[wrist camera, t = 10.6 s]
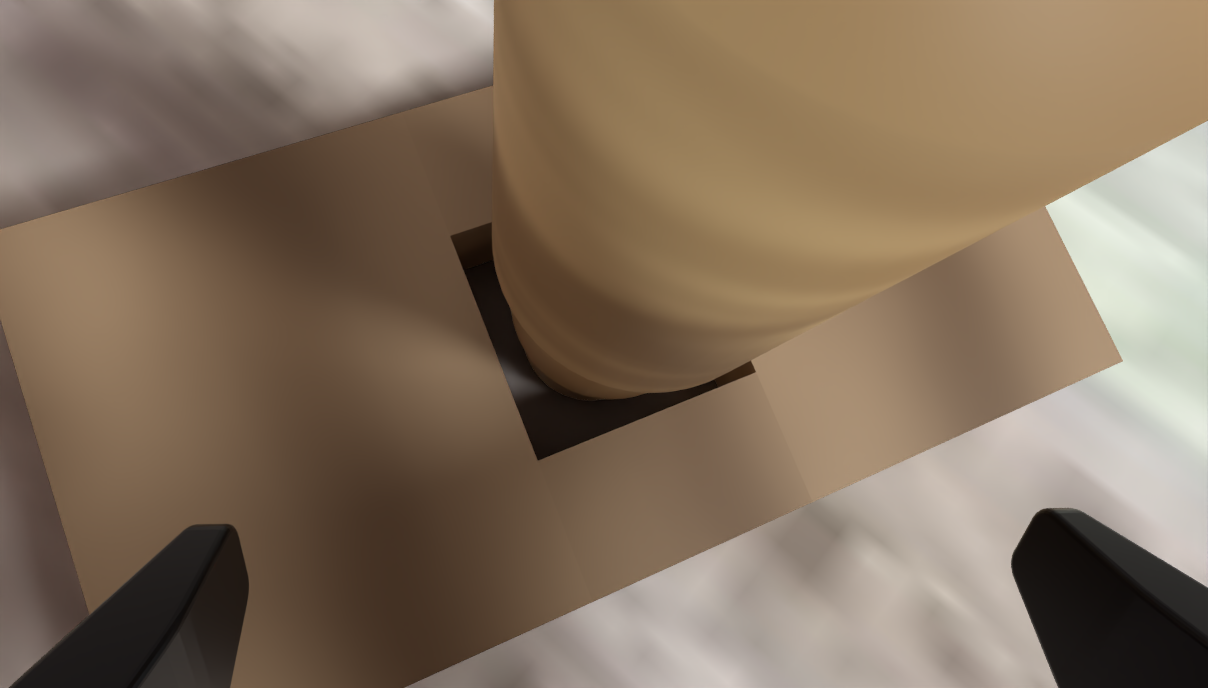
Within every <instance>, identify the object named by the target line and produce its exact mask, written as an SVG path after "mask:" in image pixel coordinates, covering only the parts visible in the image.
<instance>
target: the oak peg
mask: <svg viewBox="0 0 1208 688" xmlns="http://www.w3.org/2000/svg"><path fill="white" fill-rule="evenodd" d="M1206 121H1208V0H494V60H493V164H492V250H493V257H494V263H495V269H496V273H497V276H498V280H499V283H500V286H501V289H502V292H503V294H504V296H505V298H506V300H507V302H508V304H509V307H510V309H511V313H512V319H513V324H514V327H515V330H516V333H517V336H518V338H519V340H520V342H521V344H522V347H523V348H524V350H525V353H526V356H527V359H528V361H529V363H530V365H531V367H532V368H533V370H534V371H535V373H536V374H537V375H538V376H539V378H540V379H541V380H542V381H543V382H544V383H545V384H546V385H548V386H549V387H550V388H552V389H553V390H555V391H556V392H558V393H560V394H562V395H565V396H567V397H570V398H574V399H578V400H587V401H593V400H602V399H625V398H630V397H636V396H639V395H642V394H645V393H658V392H672V391H677V390H683V389H689V388H692V387H695V386H698V385H701V384H704V383H707V382H709V381H711V380H714V379H716V378H718V377H720V376H722V375H724V374H726V373H728V372H730V371H732V370H733V369H735V368H737V367H739V366H741V365H743V364H745V363H747V362H749V361H751V360H753V359H754V358H756V357H758V356H760V355H762V354H764V353H766V352H768V351H770V350H772V349H773V348H775V347H777V346H779V345H781V344H783V343H785V342H787V341H789V340H791V339H793V338H794V337H796V336H798V335H800V334H802V333H804V332H806V331H808V330H810V329H812V328H813V327H815V326H817V325H819V324H821V323H823V322H825V321H827V320H829V319H831V318H833V317H834V316H836V315H838V314H840V313H842V312H844V311H846V310H848V309H850V308H852V307H854V306H855V305H857V304H859V303H861V302H863V301H865V300H867V299H869V298H871V297H873V296H874V295H876V294H878V293H880V292H882V291H884V290H886V289H888V288H890V287H892V286H894V285H895V284H897V283H899V282H901V281H903V280H905V279H907V278H909V277H911V276H913V275H914V274H916V273H918V272H920V271H922V270H924V269H926V268H928V267H930V266H932V265H934V264H935V263H937V262H939V261H941V260H943V259H945V258H947V257H949V256H951V255H953V254H954V253H956V252H958V251H960V250H962V249H964V248H966V247H968V246H970V245H972V244H974V243H975V242H977V241H979V240H981V239H983V238H985V237H987V236H989V235H991V234H993V233H994V232H996V231H998V230H1000V229H1002V228H1004V227H1006V226H1008V225H1010V224H1012V223H1014V222H1015V221H1017V220H1019V219H1021V218H1023V217H1025V216H1027V215H1029V214H1031V213H1033V212H1035V211H1036V210H1038V209H1040V208H1042V207H1044V206H1046V205H1048V204H1050V203H1052V202H1054V201H1055V200H1057V199H1059V198H1061V197H1063V196H1065V195H1067V194H1069V193H1071V192H1073V191H1075V190H1076V189H1078V188H1080V187H1082V186H1084V185H1086V184H1088V183H1090V182H1092V181H1094V180H1095V179H1097V178H1099V177H1101V176H1103V175H1105V174H1107V173H1109V172H1111V171H1113V170H1115V169H1116V168H1118V167H1120V166H1122V165H1124V164H1126V163H1128V162H1130V161H1132V160H1134V159H1135V158H1137V157H1139V156H1141V155H1143V154H1145V153H1147V152H1149V151H1151V150H1153V149H1155V148H1156V147H1158V146H1160V145H1162V144H1164V143H1166V142H1168V141H1170V140H1172V139H1174V138H1176V137H1177V136H1179V135H1181V134H1183V133H1185V132H1187V131H1189V130H1191V129H1193V128H1195V127H1196V126H1198V125H1200V124H1202V123H1204V122H1206Z"/></svg>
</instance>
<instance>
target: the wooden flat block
mask: <svg viewBox="0 0 1208 688" xmlns="http://www.w3.org/2000/svg"><path fill="white" fill-rule="evenodd" d="M492 164H493V85H492V86H489V87H486V88H482V89H479V90H475V91H472V92H469V93H465V94H462V95H458V96H455V97H451V98H448V99H445V100H441V101H438V102H434V103H431V104H427V105H424V106H421V107H417V108H414V109H410V110H407V111H403V112H400V113H397V114H393V115H390V116H386V117H383V118H380V119H376V120H373V121H369V122H366V123H362V124H359V125H356V126H352V127H349V128H345V129H342V130H338V131H335V132H332V133H328V134H325V135H321V136H318V137H314V138H311V139H308V140H304V141H301V142H297V143H294V144H291V145H287V146H284V147H280V148H277V149H273V150H270V151H267V152H263V153H260V154H256V155H253V156H249V157H246V158H243V159H239V160H236V161H232V162H229V163H225V164H222V165H219V166H215V167H212V168H208V169H205V170H202V171H198V172H195V173H191V174H188V175H184V176H181V177H178V178H174V179H171V180H167V181H164V182H160V183H157V184H154V185H150V186H147V187H143V188H140V189H136V190H133V191H130V192H126V193H123V194H119V195H116V196H113V197H109V198H106V199H102V200H99V201H95V202H92V203H89V204H85V205H82V206H78V207H75V208H71V209H68V210H65V211H61V212H58V213H54V214H51V215H47V216H44V217H41V218H37V219H34V220H30V221H27V222H24V223H20V224H17V225H13V226H10V227H6V228H3V229H0V320H1V323H2V327H3V330H4V333H5V337H6V340H7V343H8V347H9V350H10V353H11V357H12V360H13V363H14V367H15V370H16V373H17V376H18V380H19V383H20V386H21V390H22V393H23V396H24V400H25V403H26V406H27V410H28V413H29V416H30V420H31V423H32V426H33V430H34V433H35V436H36V440H37V443H38V446H39V449H40V453H41V456H42V459H43V463H44V466H45V469H46V473H47V476H48V479H49V483H50V486H51V489H52V493H53V496H54V499H55V503H56V506H57V509H58V512H59V516H60V519H61V522H62V526H63V529H64V532H65V536H66V539H67V542H68V546H69V549H70V552H71V556H72V559H73V562H74V566H75V569H76V572H77V575H78V579H79V582H80V585H81V589H82V592H83V595H84V599H85V602H86V605H87V609H88V612H89V615H90V614H91V613H92V612H93V611H94V610H95V609H96V608H98V607H99V606H100V605H101V604H102V603H103V602H104V601H105V600H106V599H107V598H109V597H110V596H111V595H112V594H113V593H114V592H115V591H116V590H117V589H119V588H120V587H121V586H122V585H123V584H124V583H125V582H126V581H127V580H129V579H130V578H131V577H132V576H133V575H134V574H135V573H136V572H137V571H139V570H140V569H141V568H142V567H143V566H144V565H145V564H146V563H147V562H149V561H150V560H151V559H152V558H153V557H154V556H155V555H156V554H157V553H159V552H160V551H161V550H162V549H163V548H164V547H165V546H166V545H167V544H169V543H170V542H171V541H172V540H173V539H174V538H175V537H176V536H177V535H178V534H180V533H181V532H182V531H183V530H184V529H186V528H188V527H189V526H191V525H195V524H230V525H233V526H234V527H235V528H236V530H237V532H238V535H239V539H240V543H241V548H242V552H243V556H244V560H245V564H246V568H247V573H248V578H249V595H248V602H247V607H246V612H245V617H244V621H243V626H242V631H241V636H240V641H239V646H238V651H237V656H236V661H235V666H234V671H233V676H232V681H231V686H230V688H404V687H406V686H409V685H411V684H413V683H415V682H417V681H420V680H422V679H424V678H426V677H428V676H431V675H433V674H435V673H437V672H439V671H442V670H444V669H446V668H448V667H450V666H453V665H455V664H457V663H459V662H461V661H464V660H466V659H468V658H470V657H472V656H475V655H477V654H479V653H481V652H483V651H486V650H488V649H490V648H492V647H494V646H497V645H499V644H501V643H503V642H505V641H508V640H510V639H512V638H514V637H516V636H519V635H521V634H523V633H525V632H527V631H530V630H532V629H534V628H536V627H538V626H541V625H543V624H545V623H547V622H549V621H552V620H554V619H556V618H558V617H560V616H563V615H565V614H567V613H569V612H571V611H574V610H576V609H578V608H580V607H582V606H585V605H587V604H589V603H591V602H593V601H596V600H598V599H600V598H602V597H604V596H607V595H609V594H611V593H613V592H616V591H618V590H620V589H622V588H624V587H627V586H629V585H631V584H633V583H635V582H638V581H640V580H642V579H644V578H646V577H649V576H651V575H653V574H655V573H657V572H660V571H662V570H664V569H666V568H668V567H671V566H673V565H675V564H677V563H679V562H682V561H684V560H686V559H688V558H690V557H693V556H695V555H697V554H699V553H701V552H704V551H706V550H708V549H710V548H712V547H715V546H717V545H719V544H721V543H723V542H726V541H728V540H730V539H732V538H734V537H737V536H739V535H741V534H743V533H745V532H748V531H750V530H752V529H754V528H756V527H759V526H761V525H763V524H765V523H767V522H770V521H772V520H774V519H776V518H778V517H781V516H783V515H785V514H787V513H789V512H792V511H794V510H796V509H798V508H800V507H803V506H805V505H807V504H809V503H811V502H814V501H816V500H818V499H820V498H822V497H825V496H827V495H829V494H831V493H833V492H836V491H838V490H840V489H842V488H844V487H847V486H849V485H851V484H853V483H855V482H858V481H860V480H862V479H864V478H866V477H869V476H871V475H873V474H875V473H878V472H880V471H882V470H884V469H886V468H889V467H891V466H893V465H895V464H897V463H900V462H902V461H904V460H906V459H908V458H911V457H913V456H915V455H917V454H919V453H922V452H924V451H926V450H928V449H930V448H933V447H935V446H937V445H939V444H941V443H944V442H946V441H948V440H950V439H952V438H955V437H957V436H959V435H961V434H963V433H966V432H968V431H970V430H972V429H974V428H977V427H979V426H981V425H983V424H985V423H988V422H990V421H992V420H994V419H996V418H999V417H1001V416H1003V415H1005V414H1007V413H1010V412H1012V411H1014V410H1016V409H1018V408H1021V407H1023V406H1025V405H1027V404H1029V403H1032V402H1034V401H1036V400H1038V399H1040V398H1043V397H1045V396H1047V395H1049V394H1051V393H1054V392H1056V391H1058V390H1060V389H1062V388H1065V387H1067V386H1069V385H1071V384H1073V383H1076V382H1078V381H1080V380H1082V379H1084V378H1087V377H1089V376H1091V375H1093V374H1095V373H1098V372H1100V371H1102V370H1104V369H1106V368H1109V367H1111V366H1113V365H1115V364H1117V363H1120V362H1122V361H1123V360H1122V358H1121V356H1120V354H1119V352H1118V350H1117V348H1116V346H1115V344H1114V342H1113V340H1112V338H1111V336H1110V334H1109V332H1108V330H1107V328H1106V326H1105V324H1104V322H1103V320H1102V318H1101V316H1100V314H1099V312H1098V310H1097V308H1096V307H1095V305H1094V303H1093V301H1092V299H1091V297H1090V295H1089V293H1088V291H1087V289H1086V287H1085V285H1084V283H1083V281H1082V279H1081V277H1080V275H1079V273H1078V271H1077V269H1076V267H1075V265H1074V263H1073V261H1072V259H1071V257H1070V255H1069V253H1068V251H1067V249H1066V247H1065V245H1064V243H1063V241H1062V239H1061V237H1060V235H1059V233H1058V231H1057V229H1056V227H1055V225H1054V223H1053V221H1052V219H1051V217H1050V215H1049V213H1048V211H1047V209H1046V207H1045V206H1044V207H1042V208H1040V209H1038V210H1036V211H1035V212H1033V213H1031V214H1029V215H1027V216H1025V217H1023V218H1021V219H1019V220H1017V221H1015V222H1014V223H1012V224H1010V225H1008V226H1006V227H1004V228H1002V229H1000V230H998V231H996V232H994V233H993V234H991V235H989V236H987V237H985V238H983V239H981V240H979V241H977V242H975V243H974V244H972V245H970V246H968V247H966V248H964V249H962V250H960V251H958V252H956V253H954V254H953V255H951V256H949V257H947V258H945V259H943V260H941V261H939V262H937V263H935V264H934V265H932V266H930V267H928V268H926V269H924V270H922V271H920V272H918V273H916V274H914V275H913V276H911V277H909V278H907V279H905V280H903V281H901V282H899V283H897V284H895V285H894V286H892V287H890V288H888V289H886V290H884V291H882V292H880V293H878V294H876V295H874V296H873V297H871V298H869V299H867V300H865V301H863V302H861V303H859V304H857V305H855V306H854V307H852V308H850V309H848V310H846V311H844V312H842V313H840V314H838V315H836V316H834V317H833V318H831V319H829V320H827V321H825V322H823V323H821V324H819V325H817V326H815V327H813V328H812V329H810V330H808V331H806V332H804V333H802V334H800V335H798V336H796V337H794V338H793V339H791V340H789V341H787V342H785V343H783V344H781V345H779V346H777V347H775V348H773V349H772V350H770V351H768V352H766V353H764V354H762V355H760V356H758V357H756V358H754V359H753V360H751V361H749V362H747V363H745V364H743V365H741V366H739V367H737V368H735V369H733V370H732V371H730V372H728V373H726V374H724V375H722V376H720V377H718V378H716V379H715V382H716V384H717V386H718V388H716V389H713V390H711V391H709V392H706V393H704V394H701V395H699V396H696V397H694V398H691V399H689V400H686V401H684V402H681V403H679V404H676V405H674V406H672V407H669V408H667V409H664V410H662V411H659V412H657V413H654V414H652V415H649V416H647V417H644V418H642V419H640V420H637V421H635V422H632V423H630V424H627V425H625V426H622V427H620V428H617V429H615V430H612V431H610V432H607V433H605V434H603V435H600V436H598V437H595V438H593V439H590V440H588V441H585V442H583V443H580V444H578V445H575V446H573V447H570V448H568V449H566V450H563V451H561V452H558V453H556V454H553V455H551V456H548V457H546V458H543V459H541V460H537V458H536V455H535V453H534V450H533V447H532V445H531V442H530V440H529V437H528V435H527V432H526V429H525V427H524V424H523V422H522V419H521V417H520V414H519V411H518V409H517V406H516V404H515V401H514V399H513V396H512V394H511V391H510V388H509V386H508V383H507V381H506V378H505V376H504V373H503V370H502V368H501V365H500V363H499V360H498V358H497V355H496V353H495V350H494V347H493V345H492V342H491V340H490V337H489V335H488V332H487V329H486V327H485V324H484V322H483V319H482V317H481V314H480V311H479V309H478V306H477V304H476V301H475V299H474V296H473V294H472V291H471V288H470V286H469V283H468V281H467V278H466V276H465V273H464V270H466V269H469V268H472V267H475V266H478V265H481V264H483V263H486V262H489V261H492V260H494V257H493V250H492Z"/></svg>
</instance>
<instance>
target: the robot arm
mask: <svg viewBox="0 0 1208 688" xmlns="http://www.w3.org/2000/svg"><path fill="white" fill-rule="evenodd" d="M1011 568H1012V573H1013V577H1014V579H1015V582H1016V584H1017V587H1018V589H1019V592H1020V594H1021V597H1022V599H1023V602H1024V604H1025V607H1026V609H1027V612H1028V614H1029V617H1030V619H1031V622H1032V624H1033V627H1034V629H1035V632H1036V634H1037V637H1038V639H1039V642H1040V644H1041V647H1042V649H1043V651H1044V654H1045V656H1046V659H1047V661H1048V664H1049V666H1050V669H1051V671H1052V674H1053V676H1054V679H1055V681H1056V683H1057V686H1058V688H1208V587H1206V586H1204V585H1203V584H1201V583H1199V582H1198V581H1196V580H1194V579H1193V578H1191V577H1189V576H1188V575H1186V574H1184V573H1183V572H1181V571H1180V570H1178V569H1176V568H1175V567H1173V566H1171V565H1170V564H1168V563H1166V562H1165V561H1163V560H1161V559H1160V558H1158V557H1156V556H1155V555H1153V554H1151V553H1150V552H1148V551H1147V550H1145V549H1143V548H1142V547H1140V546H1138V545H1137V544H1135V543H1133V542H1132V541H1130V540H1128V539H1127V538H1125V537H1123V536H1122V535H1120V534H1119V533H1117V532H1115V531H1114V530H1112V529H1110V528H1109V527H1107V526H1105V525H1104V524H1102V523H1100V522H1099V521H1097V520H1095V519H1094V518H1092V517H1090V516H1089V515H1087V514H1086V513H1084V512H1082V511H1080V510H1077V509H1073V508H1046V509H1042V510H1040V511H1039V512H1037V513H1036V514H1035V515H1034V517H1033V518H1032V520H1031V522H1030V524H1029V526H1028V527H1027V529H1026V531H1025V533H1024V534H1023V536H1022V538H1021V540H1020V542H1019V543H1018V545H1017V547H1016V549H1015V550H1014V552H1013V555H1012V560H1011ZM248 595H249V578H248V573H247V568H246V564H245V560H244V556H243V552H242V548H241V543H240V539H239V535H238V532H237V530H236V528H235V527H234V526H233V525H230V524H195V525H191V526H189V527H188V528H186V529H184V530H183V531H182V532H181V533H180V534H178V535H177V536H176V537H175V538H174V539H173V540H172V541H171V542H170V543H169V544H167V545H166V546H165V547H164V548H163V549H162V550H161V551H160V552H159V553H157V554H156V555H155V556H154V557H153V558H152V559H151V560H150V561H149V562H147V563H146V564H145V565H144V566H143V567H142V568H141V569H140V570H139V571H137V572H136V573H135V574H134V575H133V576H132V577H131V578H130V579H129V580H127V581H126V582H125V583H124V584H123V585H122V586H121V587H120V588H119V589H117V590H116V591H115V592H114V593H113V594H112V595H111V596H110V597H109V598H107V599H106V600H105V601H104V602H103V603H102V604H101V605H100V606H99V607H98V608H96V609H95V610H94V611H93V612H92V613H91V614H90V615H89V616H88V617H86V618H85V619H84V620H83V621H82V622H81V623H80V624H79V625H78V626H76V627H75V628H74V629H73V630H72V631H71V632H70V633H69V634H68V635H66V636H65V637H64V638H63V639H62V640H61V641H60V642H59V643H58V644H56V645H55V646H54V647H53V648H52V649H51V650H50V651H49V652H48V653H46V654H45V655H44V656H43V657H42V658H41V659H40V660H39V661H38V662H36V663H35V664H34V665H33V666H32V667H31V668H30V669H29V670H28V671H27V672H25V673H24V674H23V675H22V676H21V677H20V678H19V679H18V680H17V681H15V682H14V683H13V684H12V685H11V686H10V687H9V688H230V686H231V681H232V676H233V671H234V666H235V661H236V656H237V651H238V646H239V641H240V636H241V631H242V626H243V621H244V617H245V612H246V607H247V602H248Z"/></svg>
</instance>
